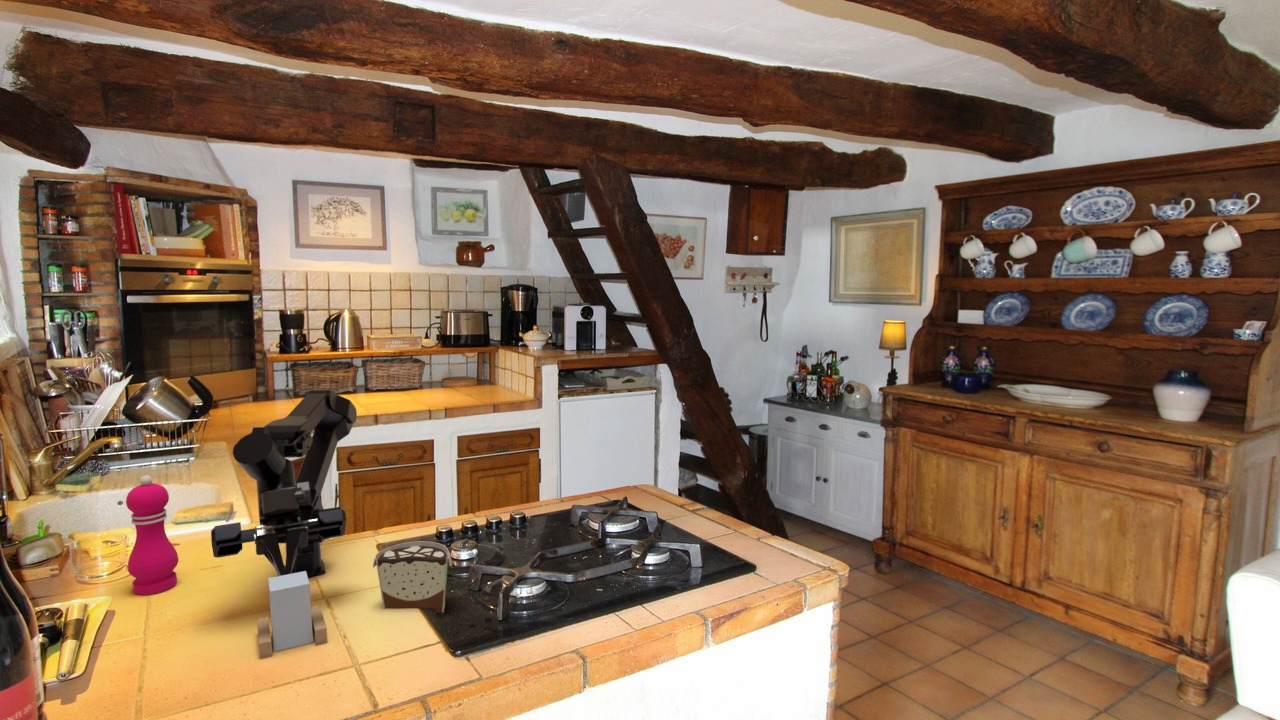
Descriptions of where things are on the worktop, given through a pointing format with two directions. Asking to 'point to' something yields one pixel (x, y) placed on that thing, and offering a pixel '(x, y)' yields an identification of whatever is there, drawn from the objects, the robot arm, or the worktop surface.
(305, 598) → the block
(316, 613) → the tan cradle
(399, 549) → the food container
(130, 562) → the pepper mill
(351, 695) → the worktop surface
